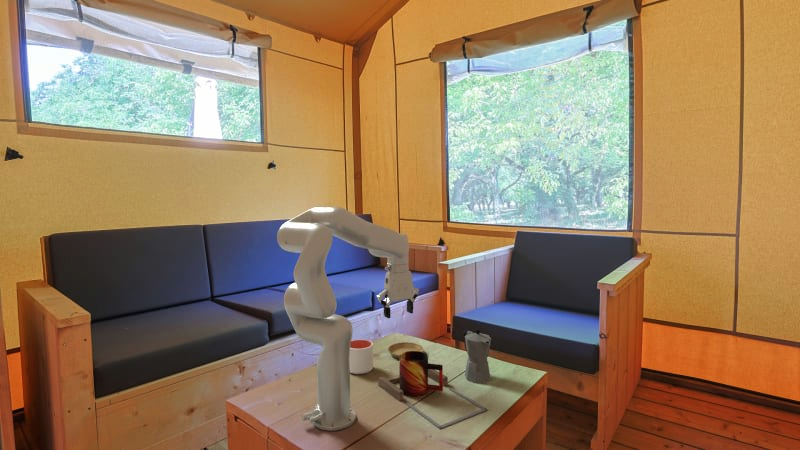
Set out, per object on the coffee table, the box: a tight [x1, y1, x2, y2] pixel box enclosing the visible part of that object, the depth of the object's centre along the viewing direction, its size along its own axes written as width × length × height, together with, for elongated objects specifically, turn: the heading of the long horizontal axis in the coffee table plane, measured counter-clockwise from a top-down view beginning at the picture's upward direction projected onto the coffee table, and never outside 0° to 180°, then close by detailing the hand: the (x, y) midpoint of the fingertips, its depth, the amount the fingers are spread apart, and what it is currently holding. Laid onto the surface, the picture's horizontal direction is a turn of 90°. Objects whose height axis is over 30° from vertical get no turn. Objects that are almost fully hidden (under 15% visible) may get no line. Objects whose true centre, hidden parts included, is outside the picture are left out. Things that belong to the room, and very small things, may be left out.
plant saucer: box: [387, 341, 424, 359], centre depth 177 cm, size 15×15×3 cm
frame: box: [405, 387, 489, 430], centre depth 133 cm, size 19×17×1 cm
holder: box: [377, 369, 449, 402], centre depth 148 cm, size 20×14×3 cm
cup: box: [350, 339, 374, 375], centre depth 161 cm, size 10×10×10 cm
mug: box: [398, 351, 444, 398], centre depth 145 cm, size 10×14×12 cm
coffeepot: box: [462, 328, 492, 384], centre depth 154 cm, size 15×9×18 cm, turn 26°
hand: (398, 314), depth 154 cm, fingers open, 9 cm apart
